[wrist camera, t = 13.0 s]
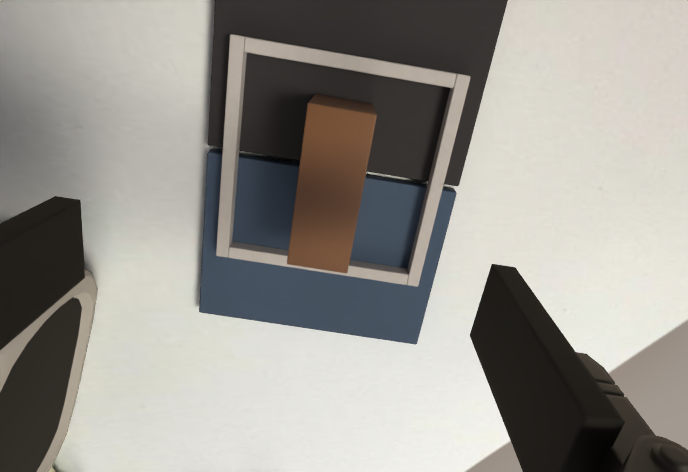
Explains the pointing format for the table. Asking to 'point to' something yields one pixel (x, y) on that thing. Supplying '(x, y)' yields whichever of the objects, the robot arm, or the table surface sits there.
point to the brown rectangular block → (330, 182)
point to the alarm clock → (44, 380)
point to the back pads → (385, 155)
